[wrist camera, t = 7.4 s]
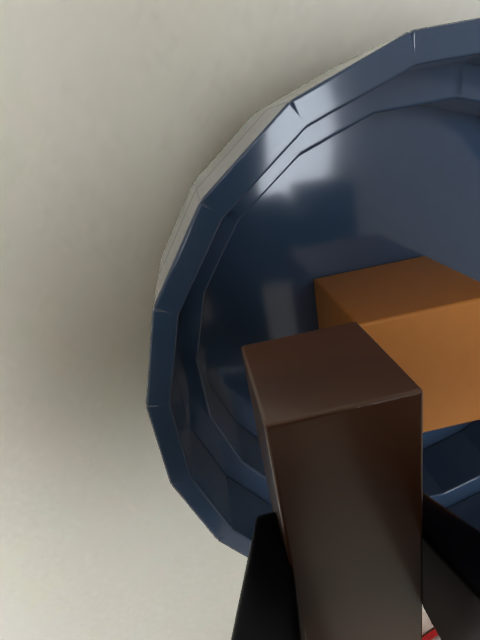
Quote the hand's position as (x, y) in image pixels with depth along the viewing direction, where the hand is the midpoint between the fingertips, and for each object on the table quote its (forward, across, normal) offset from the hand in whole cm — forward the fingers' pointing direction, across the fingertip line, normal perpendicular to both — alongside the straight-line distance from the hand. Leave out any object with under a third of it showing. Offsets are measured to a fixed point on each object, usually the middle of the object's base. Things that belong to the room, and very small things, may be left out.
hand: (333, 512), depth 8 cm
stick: (+1, 0, 0) cm, 1 cm away
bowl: (+8, -4, 0) cm, 9 cm away
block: (+8, -4, 0) cm, 9 cm away
